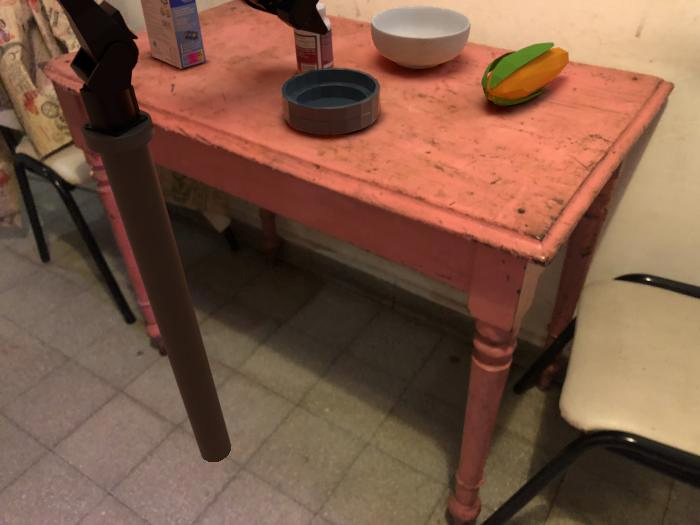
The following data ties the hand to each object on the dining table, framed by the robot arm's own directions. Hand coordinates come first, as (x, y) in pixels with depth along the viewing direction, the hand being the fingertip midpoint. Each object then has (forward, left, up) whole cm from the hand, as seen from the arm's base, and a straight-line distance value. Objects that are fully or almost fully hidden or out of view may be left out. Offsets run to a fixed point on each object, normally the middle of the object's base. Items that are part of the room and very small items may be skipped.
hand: (310, 24), depth 95 cm
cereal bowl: (+12, -14, -8) cm, 21 cm away
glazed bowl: (-13, -10, -8) cm, 18 cm away
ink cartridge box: (-4, +26, -8) cm, 27 cm away
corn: (+6, -34, -8) cm, 36 cm away
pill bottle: (0, 0, -8) cm, 8 cm away
